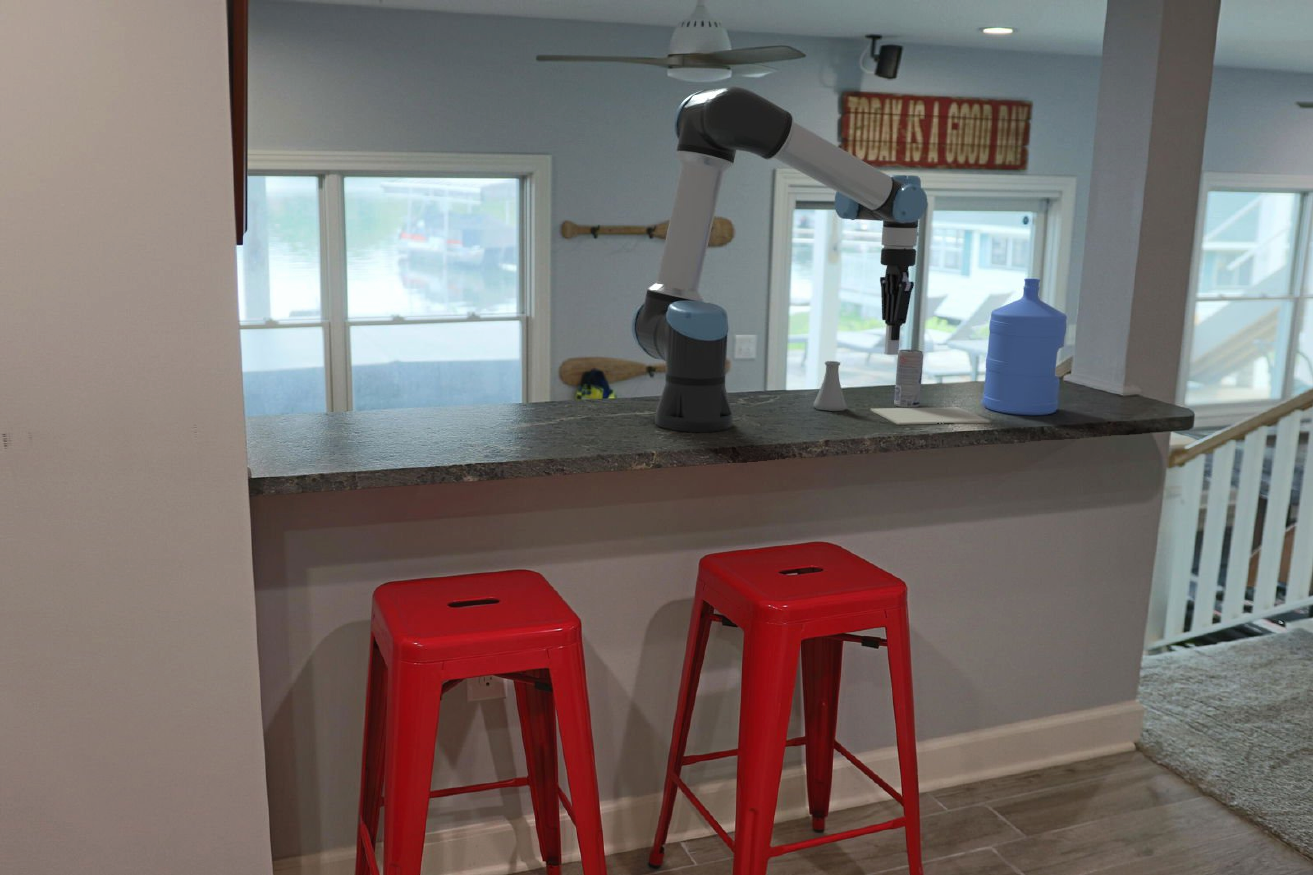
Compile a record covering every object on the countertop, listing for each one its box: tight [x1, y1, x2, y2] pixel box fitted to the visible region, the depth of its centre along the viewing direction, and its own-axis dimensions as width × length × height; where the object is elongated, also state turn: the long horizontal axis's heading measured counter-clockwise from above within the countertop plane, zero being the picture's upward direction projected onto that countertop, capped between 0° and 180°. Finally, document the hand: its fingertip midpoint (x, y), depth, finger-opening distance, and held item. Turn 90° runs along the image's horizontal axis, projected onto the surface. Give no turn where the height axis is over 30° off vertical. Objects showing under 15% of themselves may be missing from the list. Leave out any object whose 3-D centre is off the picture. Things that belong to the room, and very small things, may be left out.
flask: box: [812, 360, 848, 412], centre depth 234 cm, size 7×7×10 cm
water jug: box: [981, 278, 1068, 416], centre depth 237 cm, size 16×16×28 cm
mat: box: [870, 406, 991, 426], centre depth 229 cm, size 20×14×1 cm
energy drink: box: [893, 349, 924, 408], centre depth 238 cm, size 5×5×12 cm
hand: (891, 354), depth 247 cm, fingers closed
